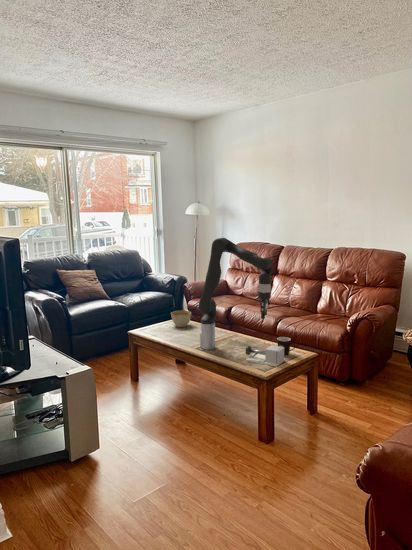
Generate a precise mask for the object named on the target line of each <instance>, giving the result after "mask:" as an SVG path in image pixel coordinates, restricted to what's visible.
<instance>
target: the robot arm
mask: <svg viewBox="0 0 412 550" xmlns="http://www.w3.org/2000/svg"><path fill="white" fill-rule="evenodd" d="M223 253H229V254H232V255H234V256H236V257H237V258H239V259H240V260H241V261H244V262H245V263H247V264H250V265H252V266H253V267H255V268H256V269H257V270H261V271H260V274H259V275H258V286H257V298H258V299H259V300H261V301H260V311H259V312H260V314H261V315H260V319H261V320H265V318H266V316H267V315H268V306H269V305H268V304H269V300H270V299H271V297H272V295H271V294H272V285H271V284H272V283H271V281H272V280H271V279H272V278H271V277H272V273H273V266H274V265H273V261H272V260H273V259H271V258H270V257H261V256H259V254H257V253H255V252H253V251H250V250H248V249H245V248H244V247H241V246H239V245H237V244H235V243H234V242H232V241H231V240H230V239H228V238H226V237H219V238H215V239H214V240H213V241H212V244H211V250H210V258H209V261H208V268H207V272H206V275H205V281H204V285H203V290H202V293H201V296H200V299H199V302H198V311H199V312H200V313H201V314H203V316H202V317H201V319H200V326H201V327H200V330H201V332H200V334H199V337H200V338H199V342H200V343H199V344H200V345H199V347H200V348H201V349H203V350H207V351H208V350H215V348H216V319H217V303H216V300H215V299H213V295H214V293H215V291H216V289H217V288H218V286H219V285H220V281H221V277H222V268H221V266H222V265H221V259H222V255H223Z"/></svg>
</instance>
